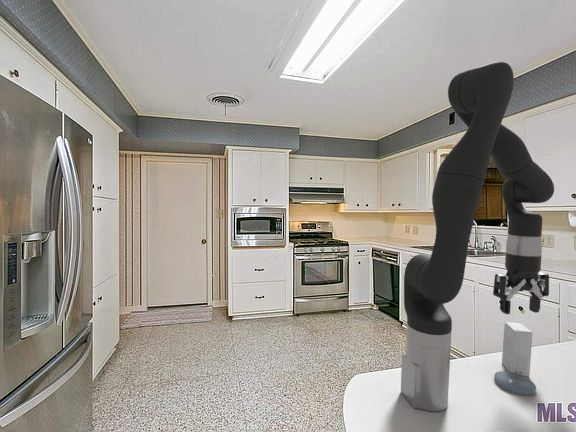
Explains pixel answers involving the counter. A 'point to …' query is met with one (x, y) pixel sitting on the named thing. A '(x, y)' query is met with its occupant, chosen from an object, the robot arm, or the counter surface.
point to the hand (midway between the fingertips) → (519, 312)
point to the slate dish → (515, 383)
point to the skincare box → (517, 348)
